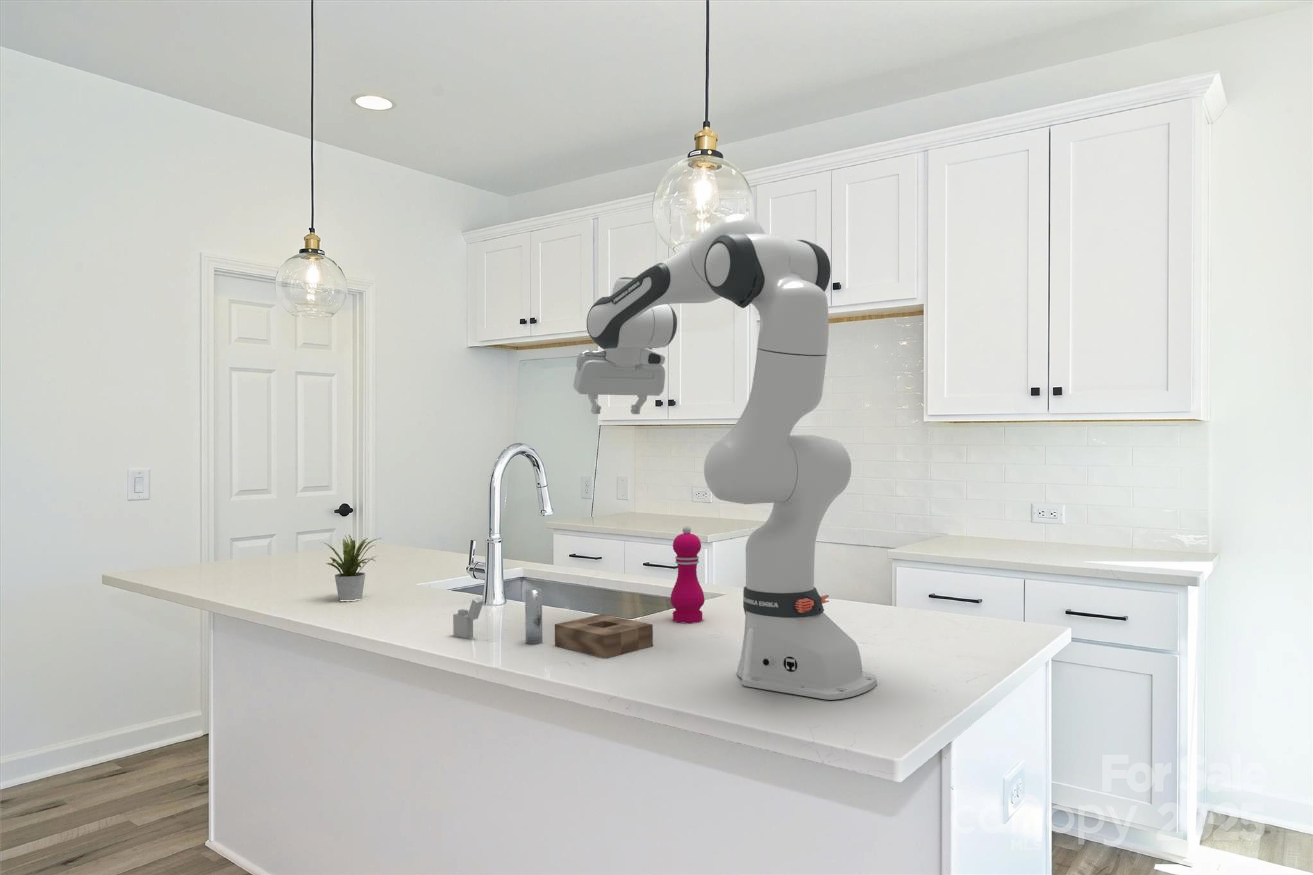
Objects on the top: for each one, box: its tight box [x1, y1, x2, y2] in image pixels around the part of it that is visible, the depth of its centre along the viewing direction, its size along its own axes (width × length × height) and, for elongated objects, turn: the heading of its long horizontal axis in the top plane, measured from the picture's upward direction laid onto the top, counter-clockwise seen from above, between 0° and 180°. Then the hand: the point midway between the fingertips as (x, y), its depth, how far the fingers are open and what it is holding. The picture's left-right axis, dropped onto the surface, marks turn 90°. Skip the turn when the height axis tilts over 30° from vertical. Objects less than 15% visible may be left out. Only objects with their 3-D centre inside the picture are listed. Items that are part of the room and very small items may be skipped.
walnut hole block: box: [554, 614, 654, 659], centre depth 161 cm, size 14×12×4 cm
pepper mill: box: [670, 525, 706, 624], centre depth 182 cm, size 7×7×20 cm
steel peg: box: [524, 588, 543, 645], centre depth 164 cm, size 3×3×10 cm
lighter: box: [452, 597, 484, 640], centre depth 169 cm, size 7×2×8 cm, turn 55°
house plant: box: [321, 533, 382, 600], centre depth 209 cm, size 14×14×16 cm
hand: (615, 413), depth 188 cm, fingers open, 8 cm apart
